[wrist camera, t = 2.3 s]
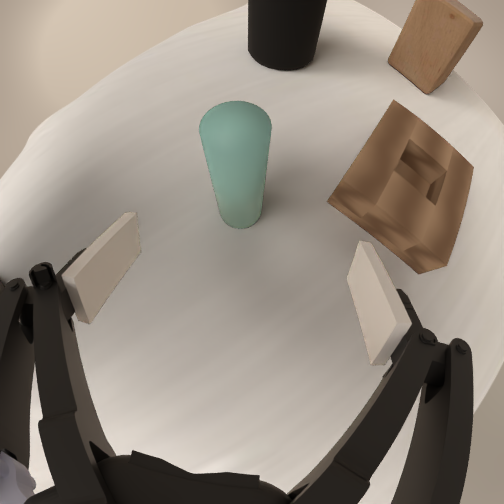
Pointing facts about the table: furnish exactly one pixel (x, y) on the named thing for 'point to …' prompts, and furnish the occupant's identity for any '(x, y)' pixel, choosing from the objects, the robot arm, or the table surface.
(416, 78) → the wooden block
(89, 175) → the table surface
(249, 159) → the pin
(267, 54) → the coffee jar
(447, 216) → the socket block
